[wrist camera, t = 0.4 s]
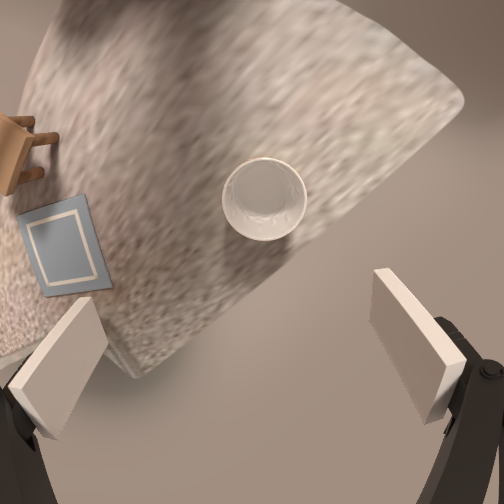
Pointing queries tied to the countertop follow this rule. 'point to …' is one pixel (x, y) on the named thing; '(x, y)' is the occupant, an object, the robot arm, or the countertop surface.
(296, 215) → the white cup
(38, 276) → the mat
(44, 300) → the countertop surface
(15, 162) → the stool
